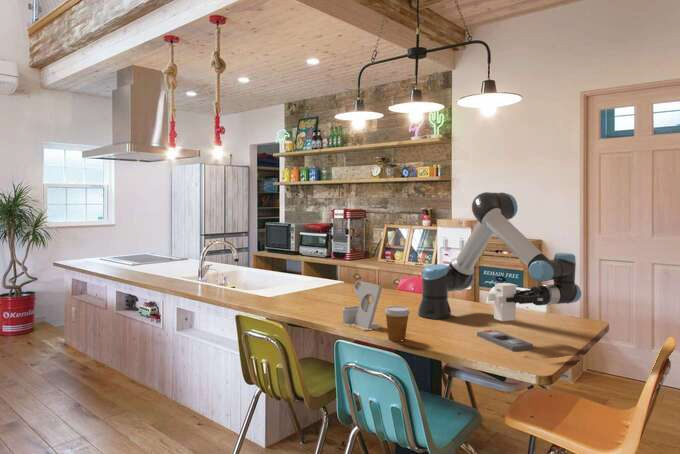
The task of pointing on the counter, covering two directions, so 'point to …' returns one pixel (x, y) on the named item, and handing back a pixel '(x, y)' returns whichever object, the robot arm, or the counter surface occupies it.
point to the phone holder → (363, 306)
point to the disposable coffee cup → (396, 322)
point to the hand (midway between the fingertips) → (493, 298)
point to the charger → (507, 309)
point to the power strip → (504, 340)
